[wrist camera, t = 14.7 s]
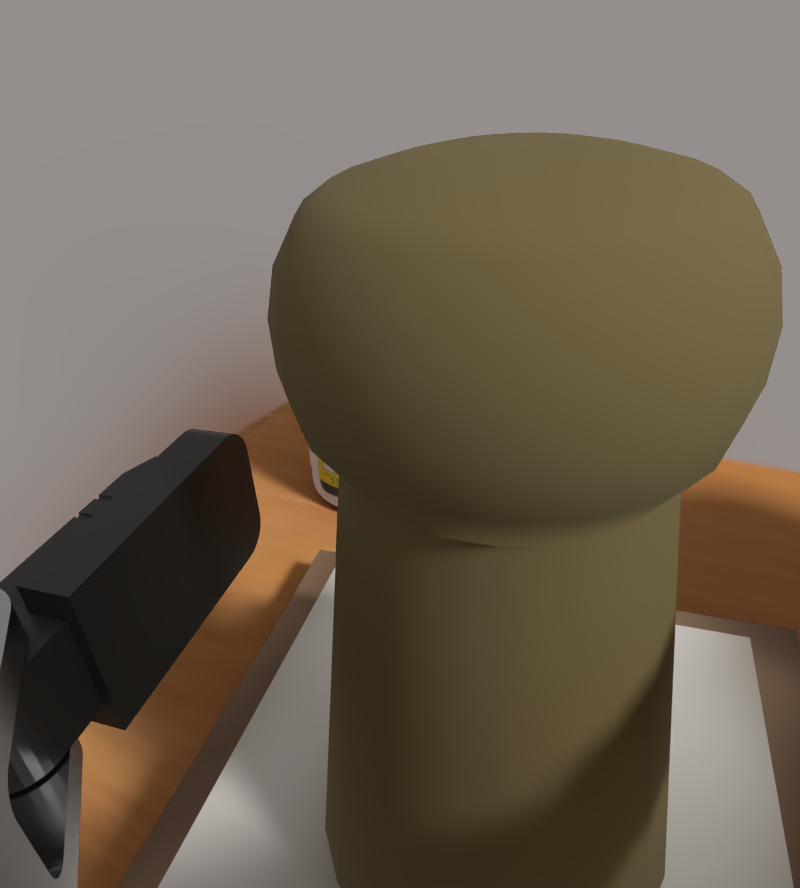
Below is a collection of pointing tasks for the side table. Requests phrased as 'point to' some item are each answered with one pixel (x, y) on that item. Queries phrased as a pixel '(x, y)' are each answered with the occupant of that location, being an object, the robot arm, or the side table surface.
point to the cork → (514, 487)
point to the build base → (306, 762)
